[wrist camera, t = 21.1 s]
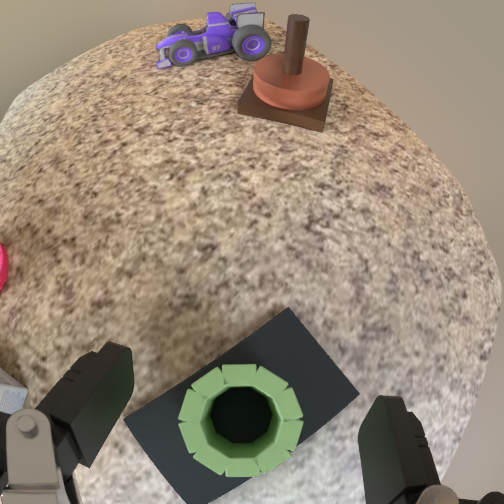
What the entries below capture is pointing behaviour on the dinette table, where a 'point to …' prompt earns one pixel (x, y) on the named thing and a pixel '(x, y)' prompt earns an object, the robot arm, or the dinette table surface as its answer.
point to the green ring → (240, 454)
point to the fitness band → (3, 265)
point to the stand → (289, 84)
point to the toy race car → (218, 37)
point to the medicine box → (11, 393)
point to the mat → (243, 405)
